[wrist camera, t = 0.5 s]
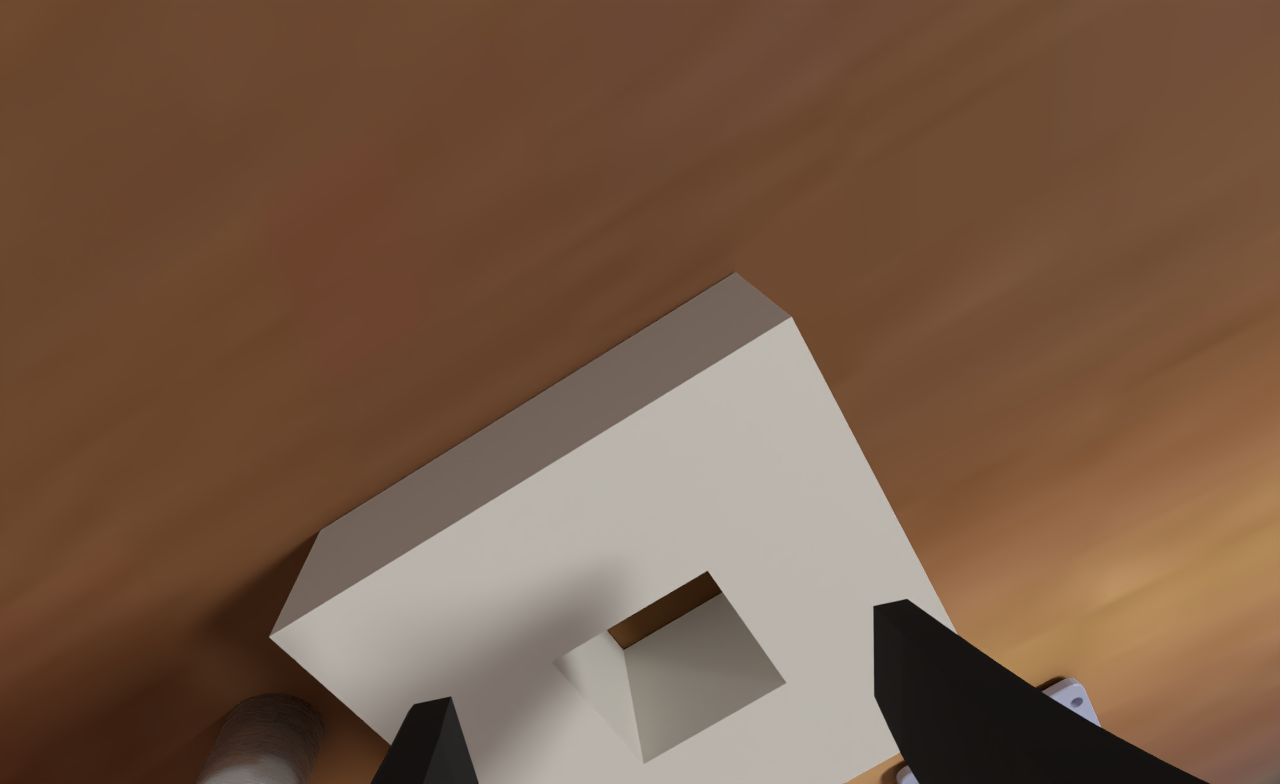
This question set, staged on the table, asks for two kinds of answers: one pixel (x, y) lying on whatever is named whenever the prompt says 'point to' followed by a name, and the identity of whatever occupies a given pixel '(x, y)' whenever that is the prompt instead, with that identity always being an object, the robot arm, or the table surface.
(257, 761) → the short steel pin
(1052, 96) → the table surface
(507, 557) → the hole block
